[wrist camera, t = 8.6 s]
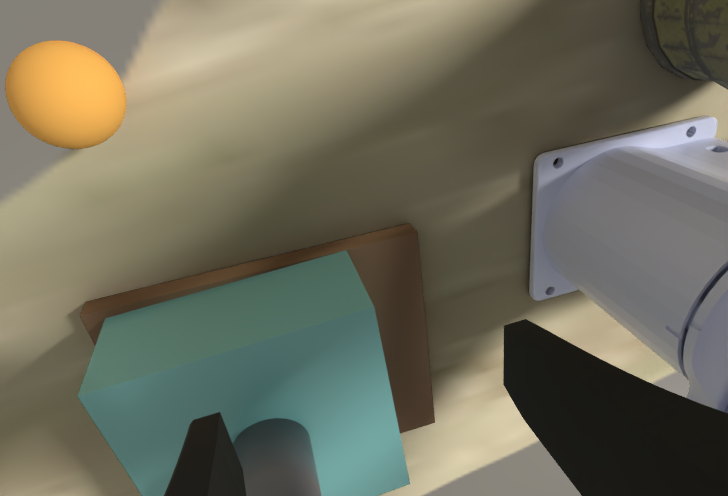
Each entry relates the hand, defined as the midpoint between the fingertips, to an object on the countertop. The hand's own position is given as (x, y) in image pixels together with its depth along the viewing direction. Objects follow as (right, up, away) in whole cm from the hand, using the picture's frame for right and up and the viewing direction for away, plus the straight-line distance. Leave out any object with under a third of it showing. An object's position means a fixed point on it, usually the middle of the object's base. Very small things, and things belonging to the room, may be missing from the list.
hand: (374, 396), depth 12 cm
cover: (-5, -2, +11) cm, 12 cm away
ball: (-10, +9, +5) cm, 14 cm away
